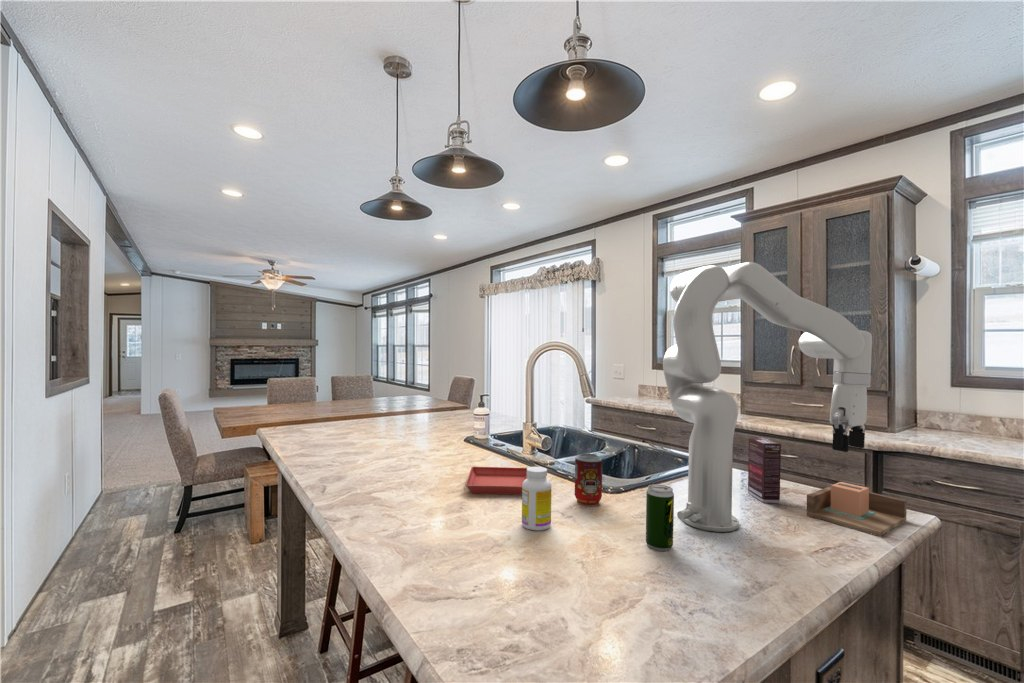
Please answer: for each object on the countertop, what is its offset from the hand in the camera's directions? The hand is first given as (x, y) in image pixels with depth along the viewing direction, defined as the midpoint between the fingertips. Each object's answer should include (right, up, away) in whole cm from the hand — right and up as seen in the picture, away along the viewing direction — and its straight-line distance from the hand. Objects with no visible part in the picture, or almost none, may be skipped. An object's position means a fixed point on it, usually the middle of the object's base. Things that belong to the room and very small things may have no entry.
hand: (848, 448), depth 115 cm
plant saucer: (-87, -16, +19) cm, 91 cm away
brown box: (0, -15, 0) cm, 15 cm away
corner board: (+1, -17, -1) cm, 17 cm away
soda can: (-64, -16, +6) cm, 66 cm away
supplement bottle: (-78, -15, -10) cm, 80 cm away
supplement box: (-14, -17, +12) cm, 25 cm away
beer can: (-53, -16, -19) cm, 59 cm away
